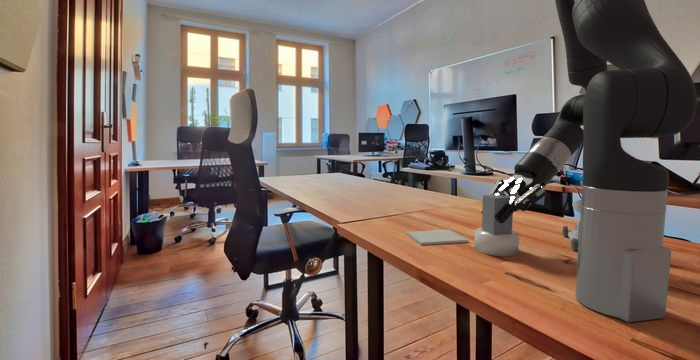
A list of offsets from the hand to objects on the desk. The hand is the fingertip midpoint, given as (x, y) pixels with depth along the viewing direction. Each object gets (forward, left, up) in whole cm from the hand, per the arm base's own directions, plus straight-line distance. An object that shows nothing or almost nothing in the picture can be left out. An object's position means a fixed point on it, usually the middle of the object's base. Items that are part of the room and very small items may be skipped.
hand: (491, 217), depth 73 cm
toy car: (0, -27, -8) cm, 28 cm away
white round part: (0, -1, -7) cm, 7 cm away
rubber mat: (+12, +8, -7) cm, 16 cm away
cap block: (0, -1, -3) cm, 4 cm away
